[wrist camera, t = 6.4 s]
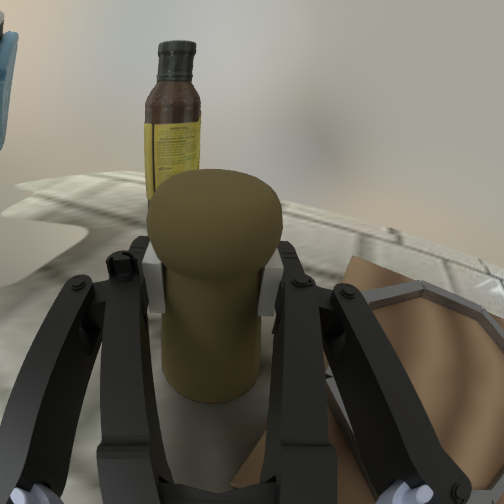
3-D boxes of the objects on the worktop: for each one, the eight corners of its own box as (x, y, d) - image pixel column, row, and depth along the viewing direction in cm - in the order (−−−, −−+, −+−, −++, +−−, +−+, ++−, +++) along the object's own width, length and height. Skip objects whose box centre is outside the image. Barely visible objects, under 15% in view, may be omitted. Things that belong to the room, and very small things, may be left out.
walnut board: (229, 484, 9) (231, 480, 8) (348, 265, 26) (353, 253, 25) (517, 522, 1) (530, 516, 1) (510, 332, 18) (516, 323, 17)
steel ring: (271, 472, 9) (275, 468, 8) (362, 266, 24) (366, 257, 23) (524, 504, 2) (534, 499, 2) (511, 329, 17) (516, 322, 16)
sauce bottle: (207, 207, 33) (222, 44, 22) (175, 227, 28) (185, 34, 17) (169, 196, 35) (177, 48, 24) (135, 212, 30) (138, 43, 19)
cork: (278, 351, 16) (323, 181, 11) (223, 423, 12) (241, 237, 6) (202, 310, 19) (207, 150, 13) (141, 363, 14) (100, 180, 8)
